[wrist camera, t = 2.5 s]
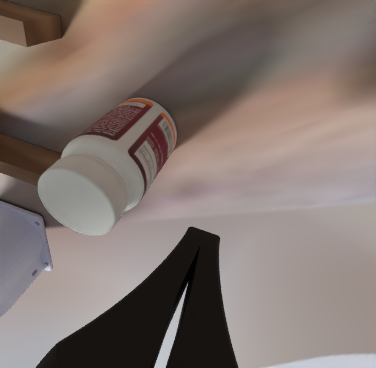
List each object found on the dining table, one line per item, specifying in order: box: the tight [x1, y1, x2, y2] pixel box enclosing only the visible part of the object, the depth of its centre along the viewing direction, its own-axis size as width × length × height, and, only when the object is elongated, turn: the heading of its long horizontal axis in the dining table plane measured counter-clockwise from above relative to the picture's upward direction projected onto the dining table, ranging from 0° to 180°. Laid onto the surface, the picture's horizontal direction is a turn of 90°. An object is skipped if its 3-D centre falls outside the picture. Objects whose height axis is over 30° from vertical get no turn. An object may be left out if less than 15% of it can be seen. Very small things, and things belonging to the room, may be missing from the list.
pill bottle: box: [38, 98, 177, 236], centre depth 16 cm, size 5×5×8 cm
